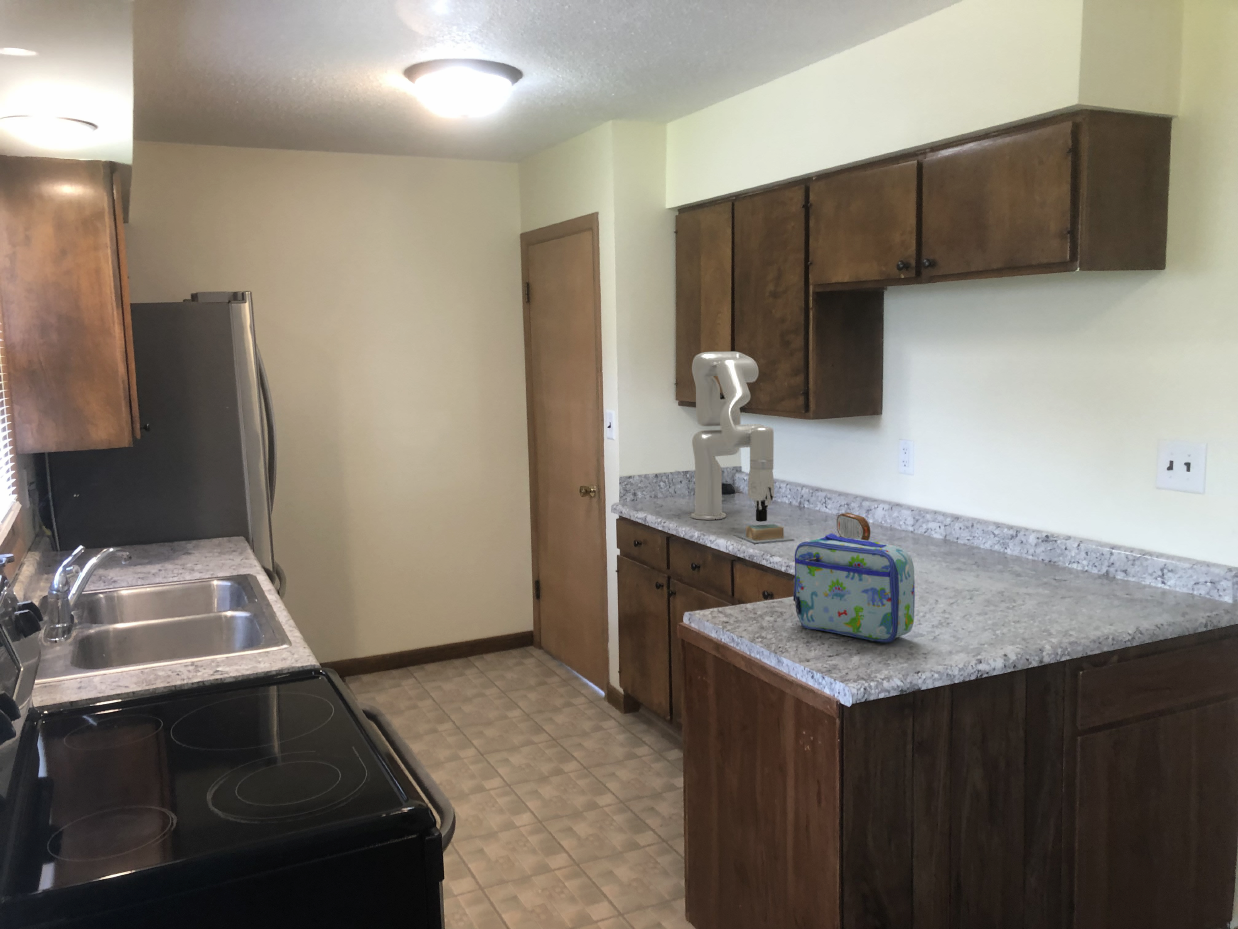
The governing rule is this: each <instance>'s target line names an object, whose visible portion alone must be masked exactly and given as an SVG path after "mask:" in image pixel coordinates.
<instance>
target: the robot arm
mask: <svg viewBox="0 0 1238 929" xmlns="http://www.w3.org/2000/svg"><path fill="white" fill-rule="evenodd" d="M691 373H692V376H693V377H692V378H693V380H694V385H695V393H696V394H695V412H696V421H697V423H698V424H699V426H702V427H720V429H706V430H700V431H697V432H696V433H695V434H694V435H693V436H692V441H691V446H692V450H693V457H694V458H693V459H694V487H695V488H694V490H695V491H694V492H695V493H694V499H695V502H694V504H695V505H694V510H695V511H694V512H691V514H690V517H691V518H692V519H696V520H703V521H704V520H706V521H708V520H709V521H712V520H713V521H714V520H715V519H716V520H721V519H725V518H726V517H727V514H726V513H725V512H723V511H722V510H723V508H722V501H723V500H722V498H723V496H722V493H723V492H722V491H723V490H722V477H723V476H722V474H723V472H722V466H721V465H720V463H719V461H718V460H717V459H716V457H726V456H727V457H728V456H734V455H736V454H737V453H738V452H739V451H740V449H741V448H742V449H743V448H749V472H748V479H747V480H748V481H747V498H748V499H750V500H752V501H753V502H754V506H755V507H754V508H755V521H756V522H758V523H759V522H761V523H762V522H767V521H768V508H769V506H771V505H772V501H773V500H774V499H775V482H774V481H775V479H774V471H773V470H774V454H775V453H774V450H775V449H774V448H775V447H774V445H775V444H774V436H775V435H774V433H775V432H774V429H773V428H772V427H771V426H764V425H762V424H760V423H755V424H751V423H750V424H748V423H747V424H746V423H745V424H741V410H740V408H741V407H743V406H745V405H746V404H747V403H748V402H750V400H751V397H752V396H751V392H750V390H749V387H748V384H747V383H754V382H756V380H757V379H758V377H759V367H758V364H757V362H756V361H755V360H754V359H753V358H752V357H750V356H748V355H747V354H744V353H743V352H739V351H705V352H701V353H698V354H696V355H695V356H694V358H693V360H692V365H691ZM715 377H717V378H718V380H717V379H716V378H715ZM718 381H719V383H718ZM721 391H722V395H723V397H724V398H723V399H721Z"/></svg>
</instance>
